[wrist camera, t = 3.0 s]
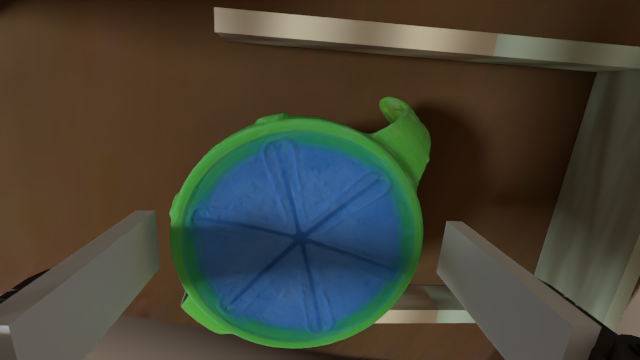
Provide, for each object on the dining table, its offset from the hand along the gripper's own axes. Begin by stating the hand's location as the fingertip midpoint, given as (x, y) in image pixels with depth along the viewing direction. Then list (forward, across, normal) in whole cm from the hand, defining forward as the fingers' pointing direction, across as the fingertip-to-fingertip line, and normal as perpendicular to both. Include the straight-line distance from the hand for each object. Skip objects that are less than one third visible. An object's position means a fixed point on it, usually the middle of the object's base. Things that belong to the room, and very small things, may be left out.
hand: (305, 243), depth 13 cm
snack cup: (+9, 0, 0) cm, 9 cm away
